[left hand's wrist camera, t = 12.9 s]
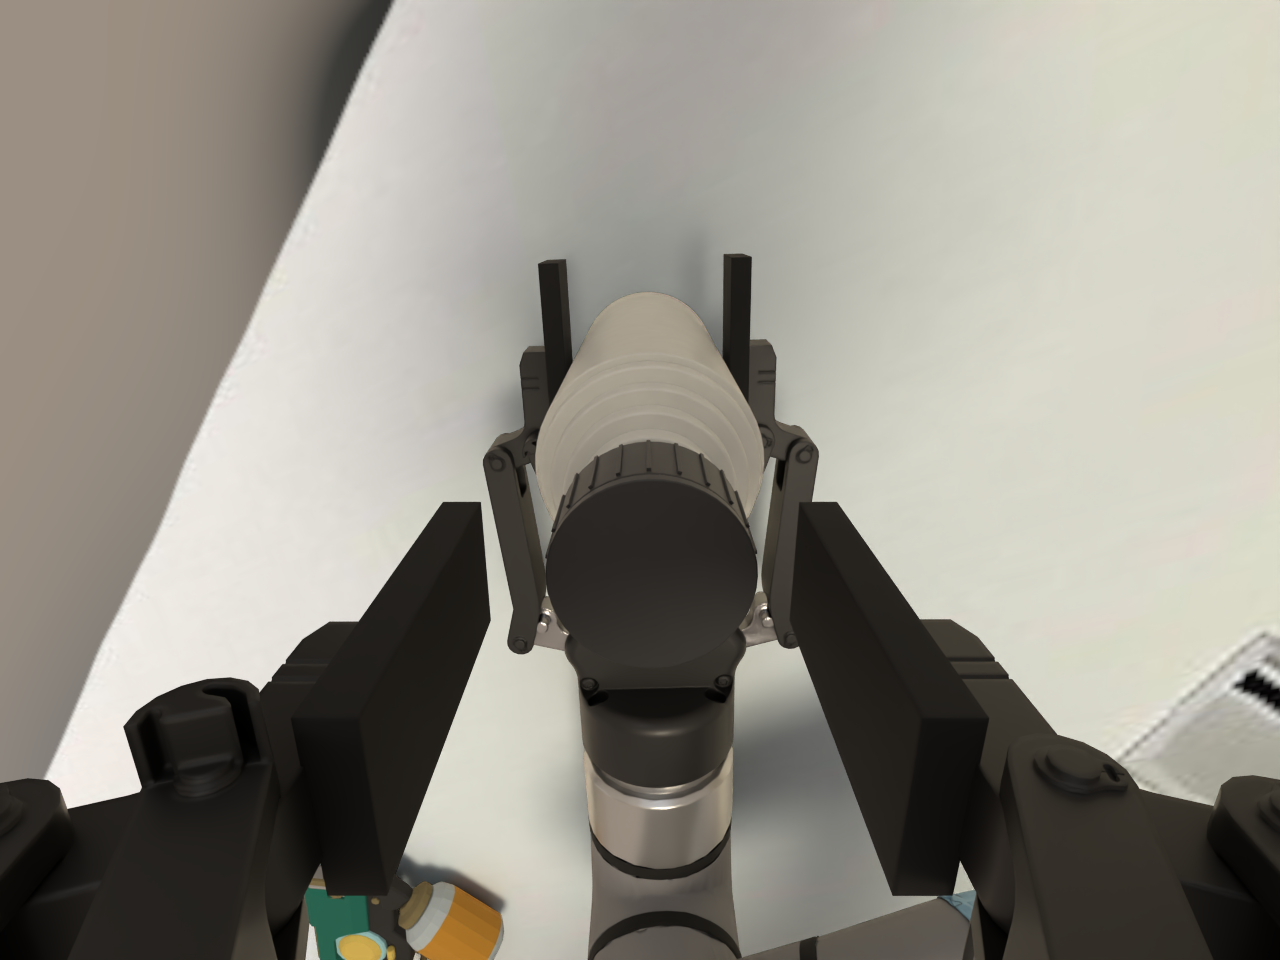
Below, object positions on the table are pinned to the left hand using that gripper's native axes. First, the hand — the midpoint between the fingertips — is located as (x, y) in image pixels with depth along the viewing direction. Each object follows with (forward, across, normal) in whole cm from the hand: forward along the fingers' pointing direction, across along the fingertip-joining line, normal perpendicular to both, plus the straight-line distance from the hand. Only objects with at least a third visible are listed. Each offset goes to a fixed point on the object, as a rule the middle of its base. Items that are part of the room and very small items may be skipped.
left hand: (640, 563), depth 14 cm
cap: (-1, 0, 0) cm, 1 cm away
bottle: (+22, 0, 0) cm, 22 cm away
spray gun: (+23, +17, +40) cm, 49 cm away
